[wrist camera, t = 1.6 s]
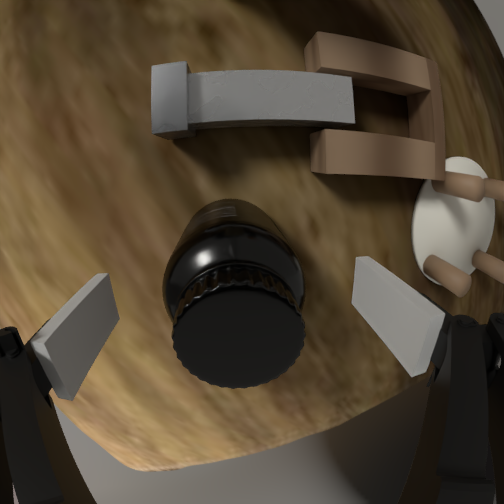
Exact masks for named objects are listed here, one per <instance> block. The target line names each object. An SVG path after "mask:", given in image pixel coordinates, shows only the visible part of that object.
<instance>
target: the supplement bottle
mask: <svg viewBox="0 0 504 504" xmlns="http://www.w3.org/2000/svg"><path fill="white" fill-rule="evenodd" d="M162 292H163V301H164V305H165V308H166V311H167V313H168V316H169V318H170V320H171V321H172V323H173V330H172V339H173V348H174V350H175V351H176V352H177V358H178V359H179V360H180V361H181V362H182V365H183V366H184V367H185V368H187V369H188V370H189V372H190V373H191V374H193V375H195V376H197V377H198V378H199V379H200V380H202V381H206V382H207V383H209V384H211V385H217V386H219V387H228V388H232V389H234V388H247V387H255V386H258V385H260V384H264V383H268V382H269V381H270V380H272V379H276V378H278V377H279V376H280V375H281V374H282V373H284V372H286V371H287V370H288V368H289V367H290V366H292V365H293V364H294V363H295V360H296V359H297V358H298V357H299V356H300V350H301V349H302V348H303V346H304V341H303V340H304V338H305V336H306V333H305V331H304V328H305V322H304V320H303V318H302V314H301V311H302V309H303V306H304V302H305V297H306V279H305V273H304V270H303V267H302V264H301V262H300V260H299V258H298V256H297V254H296V253H295V251H294V250H293V248H292V247H291V245H290V244H289V243H288V242H287V240H286V239H285V238H284V236H283V235H282V234H281V232H280V231H279V230H278V228H277V227H276V226H275V224H274V223H273V222H272V221H271V219H270V218H269V217H268V216H267V215H266V214H265V213H264V212H263V211H262V210H261V209H260V208H258V207H257V206H255V205H253V204H251V203H249V202H247V201H243V200H239V199H222V200H218V201H215V202H212V203H210V204H208V205H206V206H204V207H203V208H202V209H200V210H199V211H198V212H197V213H196V214H195V215H194V216H193V217H192V219H191V220H190V222H189V223H188V225H187V227H186V229H185V230H184V232H183V234H182V236H181V238H180V240H179V242H178V244H177V246H176V247H175V249H174V251H173V253H172V255H171V257H170V259H169V262H168V264H167V267H166V270H165V273H164V278H163V286H162Z"/></svg>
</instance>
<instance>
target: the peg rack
mask: <svg viewBox="0 0 504 504" xmlns="http://www.w3.org/2000/svg"><path fill="white" fill-rule="evenodd" d="M494 199H496V200H499V201H503V202H504V181H500V180H495V179H490V178H488V177H487V175H486V174H485V172H484V171H483V169H482V168H481V167H480V166H479V165H478V164H477V163H476V162H474V161H473V160H471V159H468V158H466V157H450V158H447V159H446V163H445V181H441V180H432V179H425V180H424V182H423V184H422V186H421V188H420V190H419V193H418V195H417V199H416V202H415V206H414V210H413V216H412V224H411V242H412V249H413V253H414V257H415V260H416V263H417V265H418V267H419V269H420V270H421V272H422V273H423V274H424V275H425V276H426V277H427V278H428V279H430V280H431V281H433V282H434V283H436V284H439V285H442V286H444V287H445V288H447V289H448V290H450V291H451V292H452V293H454V294H455V295H457V296H458V297H463V296H464V295H465V294H466V293H467V292H468V290H469V288H470V286H471V276H470V274H471V273H472V272H473V271H474V270H475V269H476V268H477V269H479V270H480V271H482V272H484V273H486V274H487V275H489V276H491V277H492V278H494V279H496V280H497V281H499V282H501V283H502V284H504V262H503V261H501V260H499V259H497V258H495V257H494V256H491V255H489V254H487V253H486V251H487V249H488V246H489V243H490V240H491V237H492V233H493V228H494V221H495V202H494Z"/></svg>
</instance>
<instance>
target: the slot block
mask: <svg viewBox="0 0 504 504" xmlns="http://www.w3.org/2000/svg"><path fill="white" fill-rule="evenodd" d="M304 56H305V67H306V72H313V73H323V74H332V75H339V76H347V77H351V78H352V86H357V87H364V88H369V89H375V90H380V91H385V92H390V93H395V94H399V95H403V96H407V106H408V119H409V138H405V137H398V136H392V135H384V134H376V133H367V132H358V131H347V130H333V129H324V130H320V131H317V132H314V133H311V134H310V162H311V172H317V173H325V174H357V175H380V176H396V177H410V178H421V179H432V180H441V181H445V163H446V158H445V127H444V113H443V103H442V94H441V86H440V79H439V73H438V67H437V62H435V61H432V60H430V59H427V58H424V57H422V56H419V55H416V54H413V53H410V52H407V51H404V50H401V49H397V48H394V47H390V46H387V45H383V44H380V43H376V42H372V41H367V40H363V39H359V38H354V37H349V36H343V35H338V34H332V33H325V32H318V31H317V32H316V33H315V35H314V36H313V37H312V39H311V40H310V41H309V43H308V44H307V45H306V47H305V48H304Z"/></svg>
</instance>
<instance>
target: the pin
mask: <svg viewBox="0 0 504 504" xmlns="http://www.w3.org/2000/svg"><path fill="white" fill-rule="evenodd" d="M151 111H152V134H154V135H156V136H159V137H162V138H165V139H167V140H170V139H178V138H188V137H196V130H199V129H211V128H226V127H250V126H300V127H323V128H340V127H343V126H347V125H351V124H355V115H354V100H353V88H352V78H351V77H347V76H339V75H332V74H323V73H313V72H300V71H282V70H232V71H214V72H201V73H191V71H190V69H189V66H188V64H187V61H183V62H175V63H168V64H162V65H156V66H152V83H151Z"/></svg>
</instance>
